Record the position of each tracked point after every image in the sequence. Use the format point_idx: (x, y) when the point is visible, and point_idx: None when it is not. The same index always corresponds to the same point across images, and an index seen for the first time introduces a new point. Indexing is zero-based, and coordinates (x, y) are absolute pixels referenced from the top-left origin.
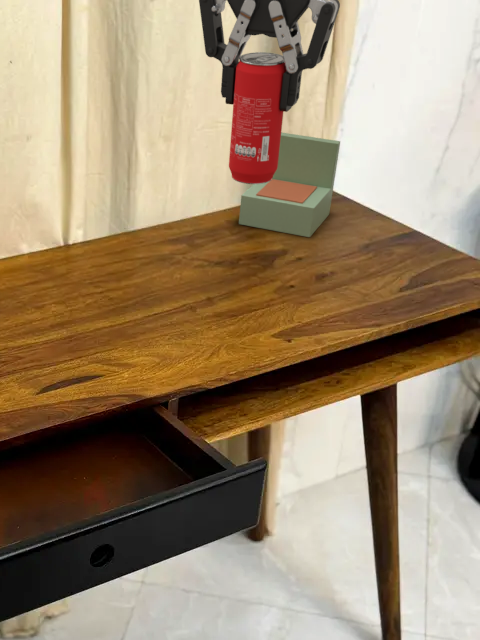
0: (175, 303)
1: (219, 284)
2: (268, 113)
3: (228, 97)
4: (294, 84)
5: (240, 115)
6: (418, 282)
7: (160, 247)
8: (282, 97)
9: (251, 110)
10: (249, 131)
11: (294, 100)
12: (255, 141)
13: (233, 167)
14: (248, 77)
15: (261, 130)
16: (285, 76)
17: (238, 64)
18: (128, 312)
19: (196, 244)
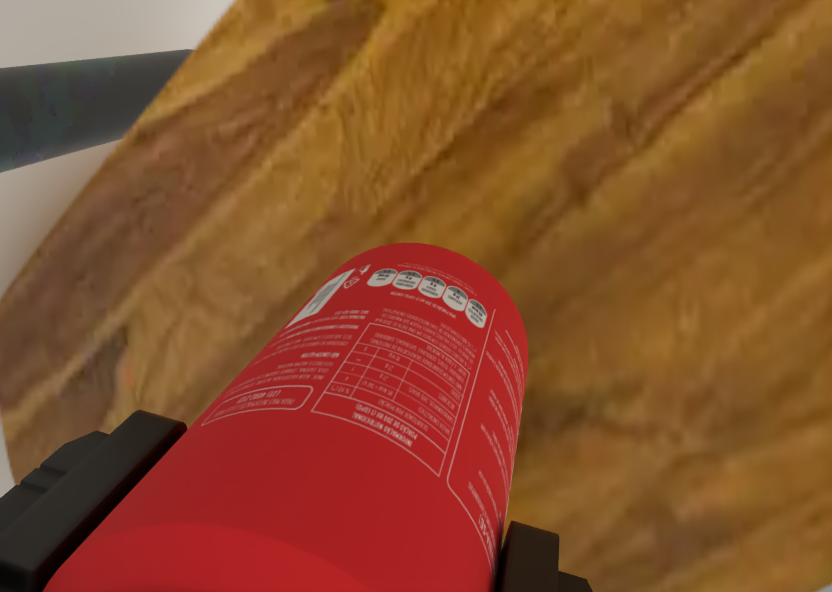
0: (678, 147)
1: (559, 292)
2: (248, 375)
3: (536, 549)
4: (1, 513)
5: (440, 392)
6: (95, 380)
7: (752, 494)
8: (130, 459)
9: (353, 378)
10: (387, 318)
11: (63, 448)
12: (362, 298)
13: (497, 287)
14: (328, 526)
15: (316, 325)
16: (27, 549)
17: None
18: (829, 51)
19: (647, 521)
